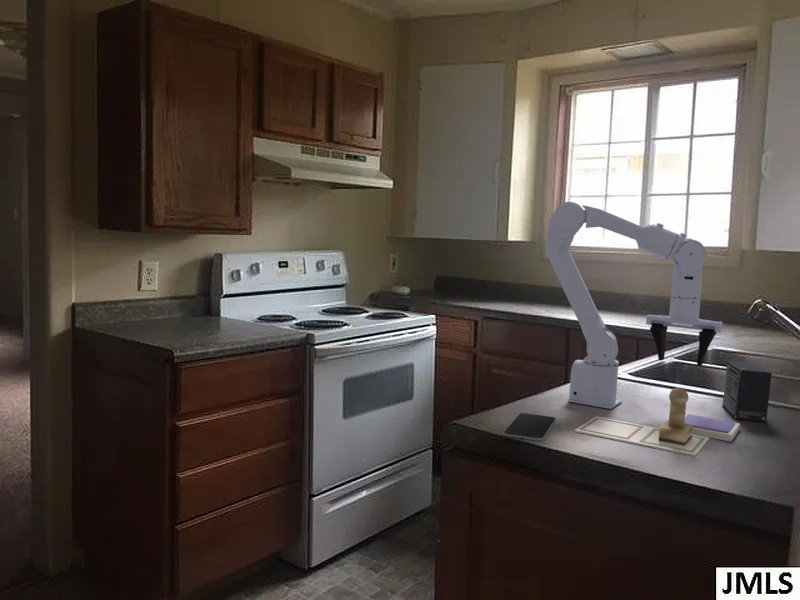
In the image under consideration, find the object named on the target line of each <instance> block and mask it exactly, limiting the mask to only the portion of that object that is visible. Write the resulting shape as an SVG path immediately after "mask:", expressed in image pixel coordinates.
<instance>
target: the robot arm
mask: <svg viewBox="0 0 800 600" xmlns="http://www.w3.org/2000/svg"><path fill="white" fill-rule="evenodd" d="M582 207H583V208H582ZM548 223H549V224H548V231H547V236H546V242H545V249H544V250H545V254H546V255H547V258H548V260H549V262H550V264H551V266H552V268H553V270H554V272H555V275H556V277H557V279H558V281H559V283H560V285H561V288H562V289H563V291H564V294H565V296H566V298H567V300H568V303H569V304H570V306H571V309H572V311H573V313H574V315H575V317H576V318H577V322H578V323H579V326H580V328H581V331H582V334H583V336H584V338H585V341H586V353H587V355H586V356H585V357H584V358H583V359H575V360H574V362H573V363H572V366H571V370H570V377H569V378H570V379H569V381H570V382H569V396H568V399H567V402H570V403H575V404H580V405H585V406H592V407H595V408H596V407H597V408H601V409H602V408H603V409H607V410H611V409H613V408H614V407H617V406H618V405H619V404H621V403H622V402H623V401H622V399H619V398H617V390H618V376H619V375H618V374H619V365H620V364H619V360H618V359H616V358H617V356H618V353H619V345H618V341H617V337H616V335H615V334H614V333H613V332H612V331H610V329H608V328H607V327H606V324H605V323H604V320H603V319H602V317H601V315H600V313H599V310H598V308H597V307H596V305H595V302H594V300H593V297H592V296H591V294H590V292H589V290H588V287H587V286H586V284H585V282H584V279H583V278H582V277H583V276H582V275H581V274H580V271H579V269H578V267H577V264H576V262H575V261H574V258H573V256H572V254H571V252H570V248H571V245H572V243H573V241H574V239H575V238H574V237H575V235H576V234H577V233H578V232H579V231H580V229H581V228H582V227H583V226H584V224H585V228H586V229H588V228H603V229H605V230H608V231H610V232H613V233H615V234H618V235H620V236H623V237H626V238H628V239H632V240H634V241H635V242H636V244H637V247H638V249H639V250H642V251H644V252H647V253H648V254H652V255H654V256H657V257H659V258H662V259H664V260H666V261H670V260H673V262H674V264H673V265H674V266H673V273H672V276H671V277H672V278H671V287H670V288H671V290H670V303H669V311H668V312H669V314H668V315H660V314H659V315H657V314H656V315H655V314H648V315H646V321H645V322H646V323H645V324H646V325H650V327H649V330H650V333H651V336H652V338H653V341H654V343H655V347H656V351H657V359H658V361H663V360H665V355H666V354H665V352H666V338H667V331H668V327H673V328H682V329H691V330H700V331H699V332H698V354H697V359H696V365H697V366H699V367H701V366H702V365H704V364H703V363H704V359H705V356H706V353H707V351H708V349H709V347H710V345H711V343H712V342H713V339H714V338H715V337H716V335H717V333H721V332H722V331H723V321H715V320H708V319H702V318H700V308H701V297H702V296H701V295H702V285H703V276H702V274H703V264H704V263H705V261H706V260H707V257H708V254H707V251H706V248H705V246H704V245H703V243H701V242H700V241H698V240H696V239H692V238H689V237H688V238H686V237H687V234H686V233H683V232H681V233H680V234H679V233H677V232H674V231H671V230H670V229H666V228H665V227H664V226H665V225H664V224H662V223H659V222H658V223H656V224H654V223H649V224H646V225H644V226H641V225H639V224H636V223H634V222H632V221H629V220H627V219H625V218H622V217H621V216H618V215H615V214H613V213H611V212H608V211H606V210H604V209H601V208H597V207H593V206H589V205H583V204H582V205H580V204H578V203H576V202H574V201H564V202H562V203H560V204H559V205H557V207H556V208H555V210H554V211H553V213H552V215H551V217H550V219H549V222H548Z"/></svg>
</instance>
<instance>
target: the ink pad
mask: <svg viewBox="0 0 800 600" xmlns="http://www.w3.org/2000/svg"><path fill="white" fill-rule="evenodd" d="M685 423H686V424H691V425H693V429H692V435H697V436H703V437H708V438H709V439H710V438H711V439H716V440H721V441H726V442H730V443H731V442H732V441H733V440H734V438H736V436H737V434H738V432H739V431H740V427H741V423H740V422H739V423H738V422H735V421H731V420H723V419H719V418H713V417H707V416H701V415H695V414H691V413H688V414H686V413H685Z"/></svg>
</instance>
